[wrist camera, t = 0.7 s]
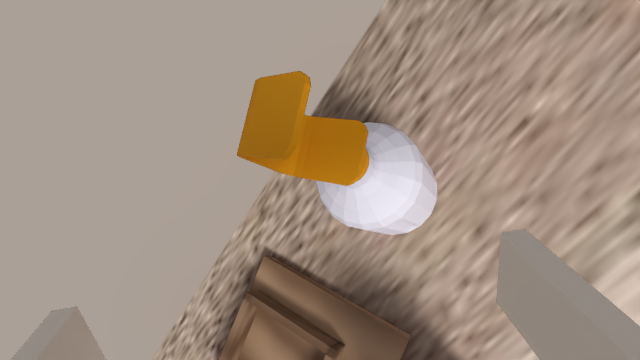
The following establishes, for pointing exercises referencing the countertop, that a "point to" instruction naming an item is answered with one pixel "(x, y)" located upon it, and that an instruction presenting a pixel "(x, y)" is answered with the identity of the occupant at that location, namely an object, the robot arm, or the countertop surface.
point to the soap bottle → (339, 158)
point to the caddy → (306, 322)
